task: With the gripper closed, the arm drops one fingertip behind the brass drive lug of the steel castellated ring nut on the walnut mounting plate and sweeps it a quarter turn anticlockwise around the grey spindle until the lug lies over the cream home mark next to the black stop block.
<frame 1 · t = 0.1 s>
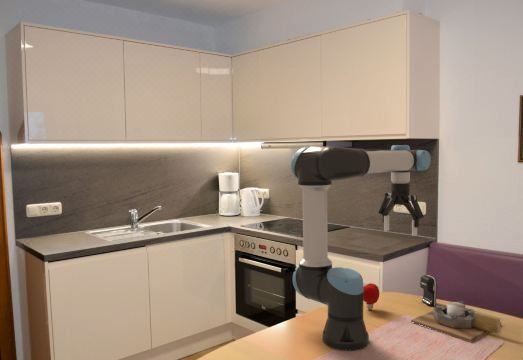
hand: (400, 233, 189), 28 cm above the table, fingers open, 13 cm apart
battery charger: (427, 304, 184), on the table
ring nut: (466, 316, 160), point 4 cm above the table, hinge at 0.0°
mount plate: (455, 323, 163), on the table
light bulb: (369, 310, 179), on the table
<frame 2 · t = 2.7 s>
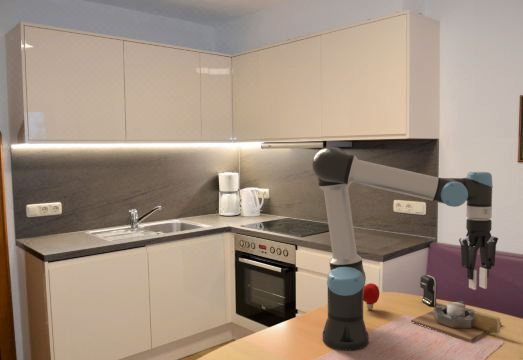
hand: (477, 287, 151), 17 cm above the table, fingers open, 3 cm apart
nothing on the table moved.
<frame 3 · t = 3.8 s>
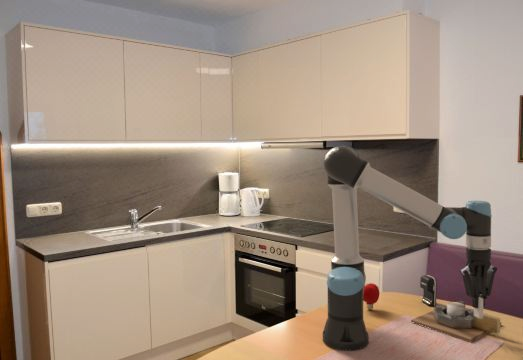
hand: (478, 316, 152), 7 cm above the table, fingers closed
nothing on the table moved.
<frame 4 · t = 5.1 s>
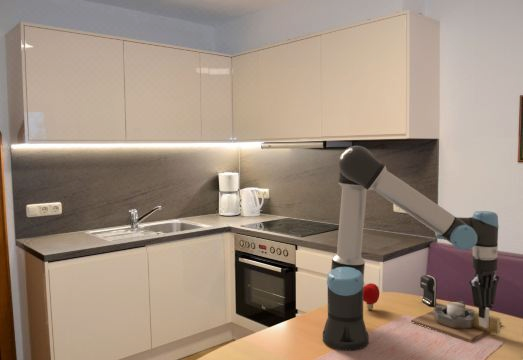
hand: (483, 326, 153), 3 cm above the table, fingers closed
ring nut: (466, 316, 160), point 4 cm above the table, hinge at 0.0°, touching gripper
everything else where it was.
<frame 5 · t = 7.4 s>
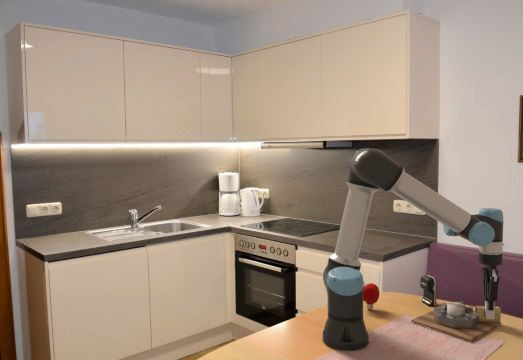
hand: (489, 318, 160), 3 cm above the table, fingers closed
ring nut: (467, 313, 163), point 4 cm above the table, hinge at 46.7°, touching gripper
everything else where it was.
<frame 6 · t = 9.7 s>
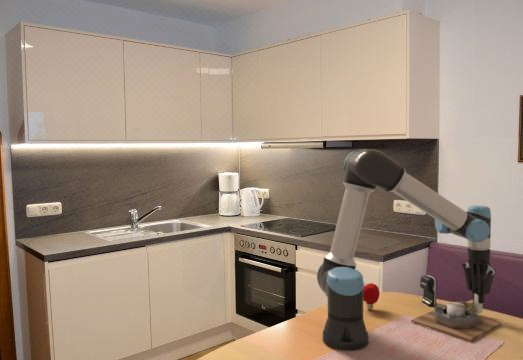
hand: (478, 310, 168), 3 cm above the table, fingers closed
ring nut: (462, 311, 165), point 4 cm above the table, hinge at 85.2°, touching gripper
everything else where it was.
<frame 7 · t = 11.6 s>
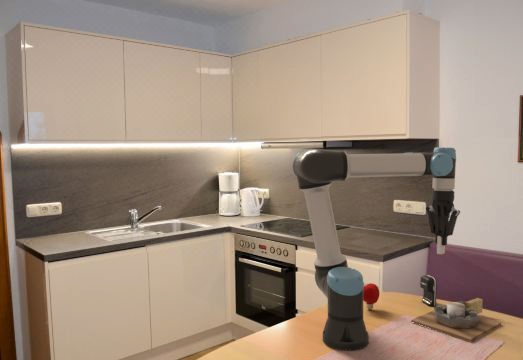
hand: (440, 253, 167), 25 cm above the table, fingers closed
ring nut: (462, 311, 165), point 4 cm above the table, hinge at 85.0°
everything else where it was.
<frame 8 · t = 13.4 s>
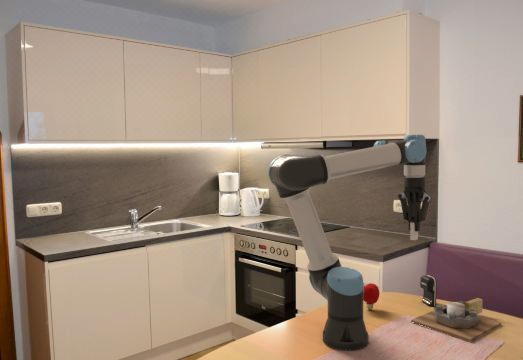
hand: (414, 239, 169), 29 cm above the table, fingers closed
nothing on the table moved.
at the end: ring nut at +85° (first picture: +0°) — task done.
